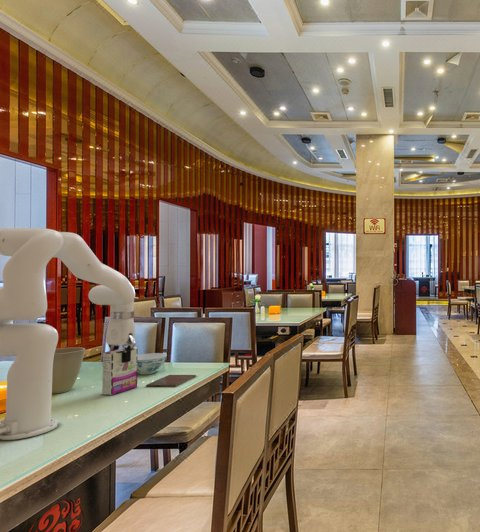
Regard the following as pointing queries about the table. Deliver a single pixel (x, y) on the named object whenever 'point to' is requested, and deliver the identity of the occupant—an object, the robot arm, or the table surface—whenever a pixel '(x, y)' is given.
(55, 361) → the plant pot
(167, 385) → the plate
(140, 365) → the chinaware
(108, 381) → the candy bar box
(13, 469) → the table surface
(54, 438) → the table surface
